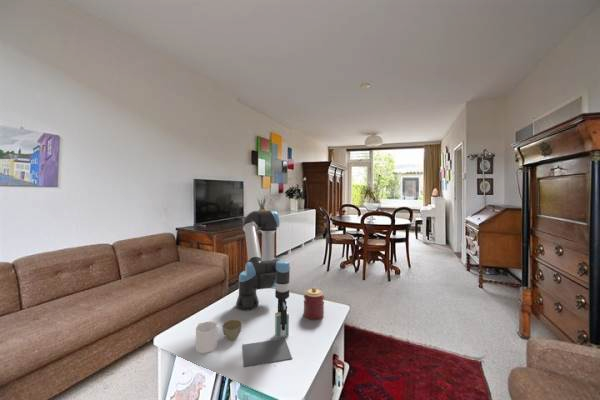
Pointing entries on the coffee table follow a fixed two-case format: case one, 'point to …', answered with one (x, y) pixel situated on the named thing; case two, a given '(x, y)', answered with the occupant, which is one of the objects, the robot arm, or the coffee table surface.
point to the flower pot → (232, 329)
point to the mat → (265, 352)
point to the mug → (206, 337)
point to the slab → (277, 324)
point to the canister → (313, 304)
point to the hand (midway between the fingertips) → (281, 331)
